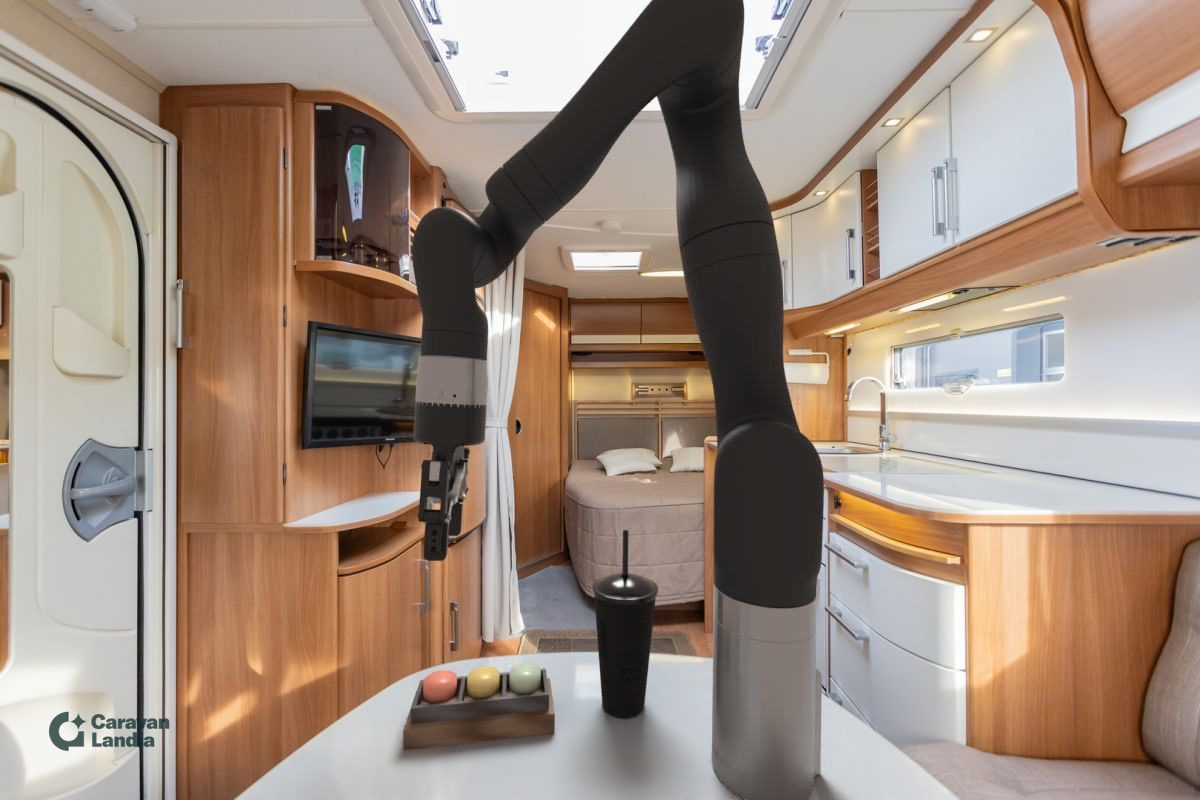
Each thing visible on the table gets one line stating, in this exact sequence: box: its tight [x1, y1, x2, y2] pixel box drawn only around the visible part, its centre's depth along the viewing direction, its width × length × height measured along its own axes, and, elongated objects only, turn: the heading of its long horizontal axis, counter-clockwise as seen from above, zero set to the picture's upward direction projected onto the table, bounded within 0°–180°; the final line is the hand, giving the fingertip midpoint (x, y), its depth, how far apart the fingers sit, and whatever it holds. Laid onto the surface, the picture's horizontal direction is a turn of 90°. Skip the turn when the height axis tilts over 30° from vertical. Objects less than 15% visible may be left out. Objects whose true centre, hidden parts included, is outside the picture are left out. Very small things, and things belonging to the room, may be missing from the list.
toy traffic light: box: [402, 668, 556, 751], centre depth 52 cm, size 15×6×4 cm, turn 101°
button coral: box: [423, 669, 458, 704], centre depth 51 cm, size 3×3×2 cm
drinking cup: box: [591, 529, 659, 720], centre depth 54 cm, size 8×8×20 cm
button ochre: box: [466, 665, 500, 699], centre depth 52 cm, size 3×3×2 cm
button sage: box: [509, 662, 542, 695], centre depth 52 cm, size 3×3×2 cm
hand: (443, 546), depth 53 cm, fingers open, 8 cm apart
